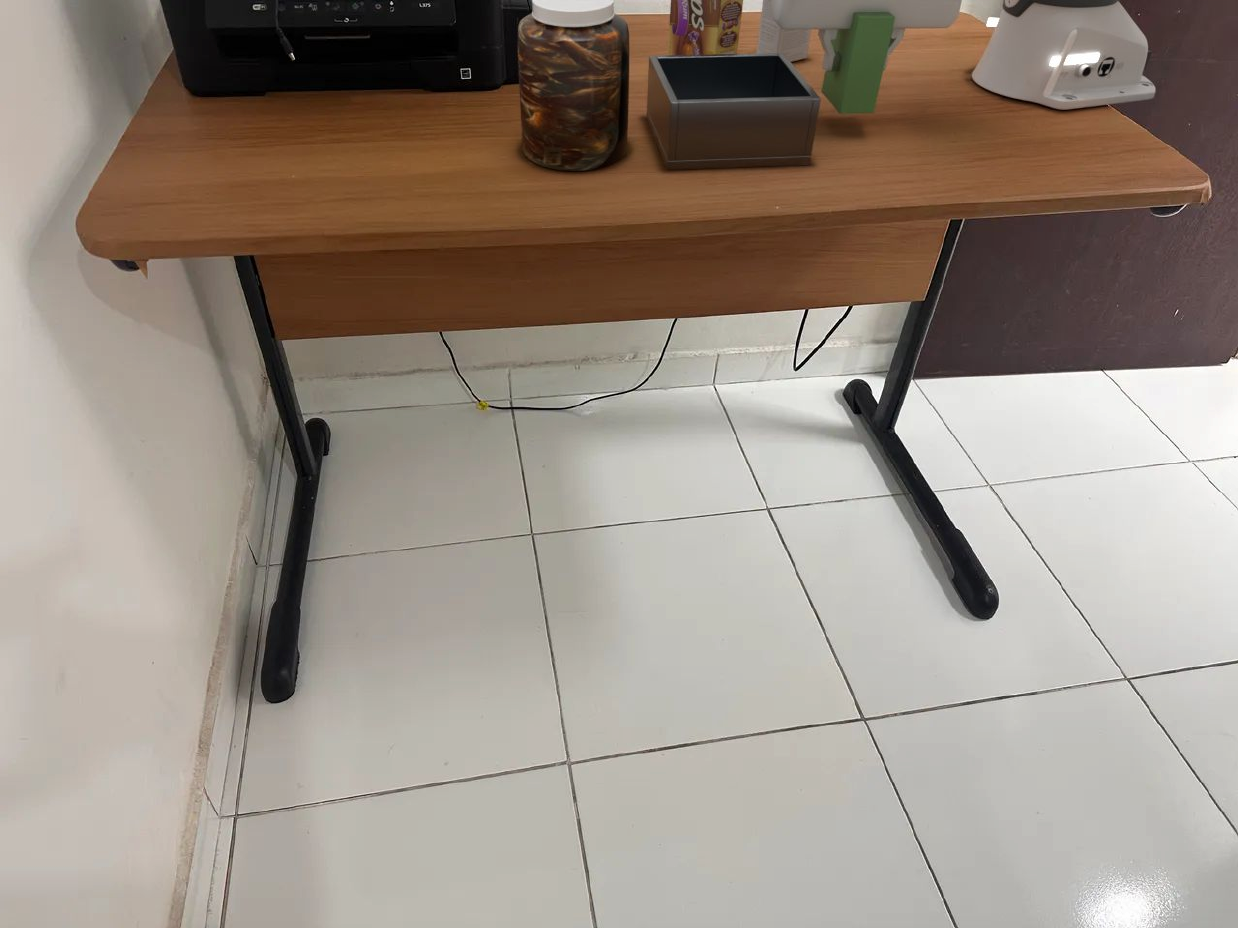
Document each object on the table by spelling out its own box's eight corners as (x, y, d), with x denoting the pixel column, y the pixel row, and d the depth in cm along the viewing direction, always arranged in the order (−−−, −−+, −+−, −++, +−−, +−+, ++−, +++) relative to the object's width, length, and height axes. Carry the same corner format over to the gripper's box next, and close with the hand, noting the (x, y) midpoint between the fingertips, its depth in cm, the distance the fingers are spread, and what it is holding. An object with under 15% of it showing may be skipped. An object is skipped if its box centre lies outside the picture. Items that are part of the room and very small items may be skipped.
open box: (774, 114, 104) (783, 52, 99) (809, 165, 93) (821, 98, 89) (646, 118, 102) (648, 55, 98) (667, 170, 92) (671, 103, 87)
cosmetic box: (786, 51, 122) (800, -47, 114) (808, 60, 119) (824, -40, 111) (753, 58, 119) (765, -41, 111) (775, 68, 116) (789, -34, 108)
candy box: (736, 88, 110) (750, -48, 100) (712, 95, 108) (724, -43, 98) (688, 69, 115) (698, -63, 105) (664, 75, 113) (671, -58, 103)
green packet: (853, 91, 102) (872, -2, 96) (873, 113, 97) (895, 17, 90) (821, 92, 102) (838, -2, 95) (839, 114, 97) (859, 17, 90)
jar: (646, 161, 93) (653, 9, 83) (545, 179, 89) (539, 22, 79) (601, 122, 101) (602, -21, 91) (506, 137, 97) (496, -11, 87)
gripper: (965, -79, 91) (930, 59, 101) (777, -80, 89) (759, 61, 98) (991, -66, 87) (952, 78, 96) (794, -66, 84) (773, 81, 94)
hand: (853, 70), depth 97 cm, fingers closed on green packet, 4 cm apart
